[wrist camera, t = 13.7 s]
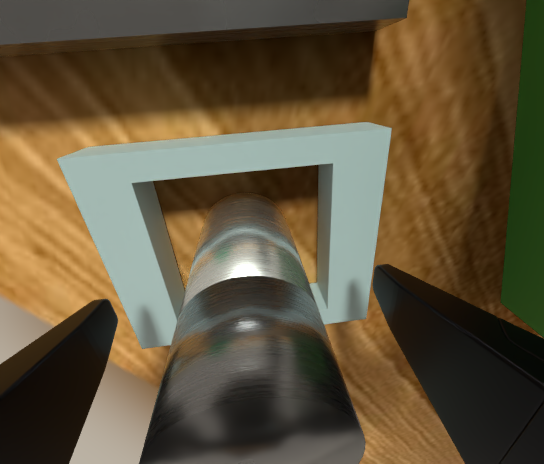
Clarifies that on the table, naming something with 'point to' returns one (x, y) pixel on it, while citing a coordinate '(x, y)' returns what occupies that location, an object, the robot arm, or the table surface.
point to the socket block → (179, 22)
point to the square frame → (222, 160)
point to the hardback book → (527, 183)
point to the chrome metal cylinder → (251, 355)
